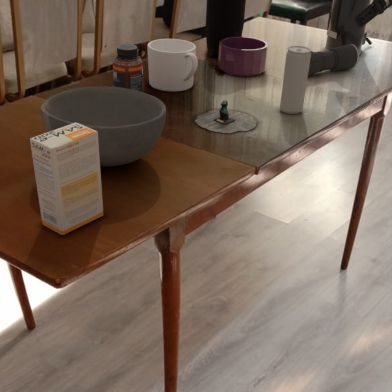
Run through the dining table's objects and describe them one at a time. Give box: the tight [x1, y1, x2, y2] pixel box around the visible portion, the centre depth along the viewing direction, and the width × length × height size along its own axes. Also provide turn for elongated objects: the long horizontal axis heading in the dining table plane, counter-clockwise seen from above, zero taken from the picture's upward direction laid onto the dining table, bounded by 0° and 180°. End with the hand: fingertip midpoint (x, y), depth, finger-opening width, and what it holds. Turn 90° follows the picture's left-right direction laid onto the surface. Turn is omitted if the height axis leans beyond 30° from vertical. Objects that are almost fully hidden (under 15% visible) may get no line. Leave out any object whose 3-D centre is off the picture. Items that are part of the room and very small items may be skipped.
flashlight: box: [308, 44, 360, 76], centre depth 150 cm, size 15×5×5 cm, turn 121°
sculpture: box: [194, 100, 258, 134], centre depth 124 cm, size 12×9×8 cm
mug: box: [146, 38, 199, 93], centre depth 136 cm, size 13×10×8 cm
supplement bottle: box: [112, 43, 144, 93], centre depth 125 cm, size 6×6×11 cm
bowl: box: [40, 85, 167, 167], centre depth 105 cm, size 20×20×10 cm
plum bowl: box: [217, 36, 269, 78], centre depth 148 cm, size 11×11×6 cm
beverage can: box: [279, 45, 312, 115], centre depth 127 cm, size 5×5×12 cm
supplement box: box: [29, 123, 104, 236], centre depth 88 cm, size 8×5×13 cm, turn 139°
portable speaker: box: [204, 0, 247, 58], centre depth 152 cm, size 9×9×20 cm
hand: (362, 18), depth 116 cm, fingers open, 8 cm apart
